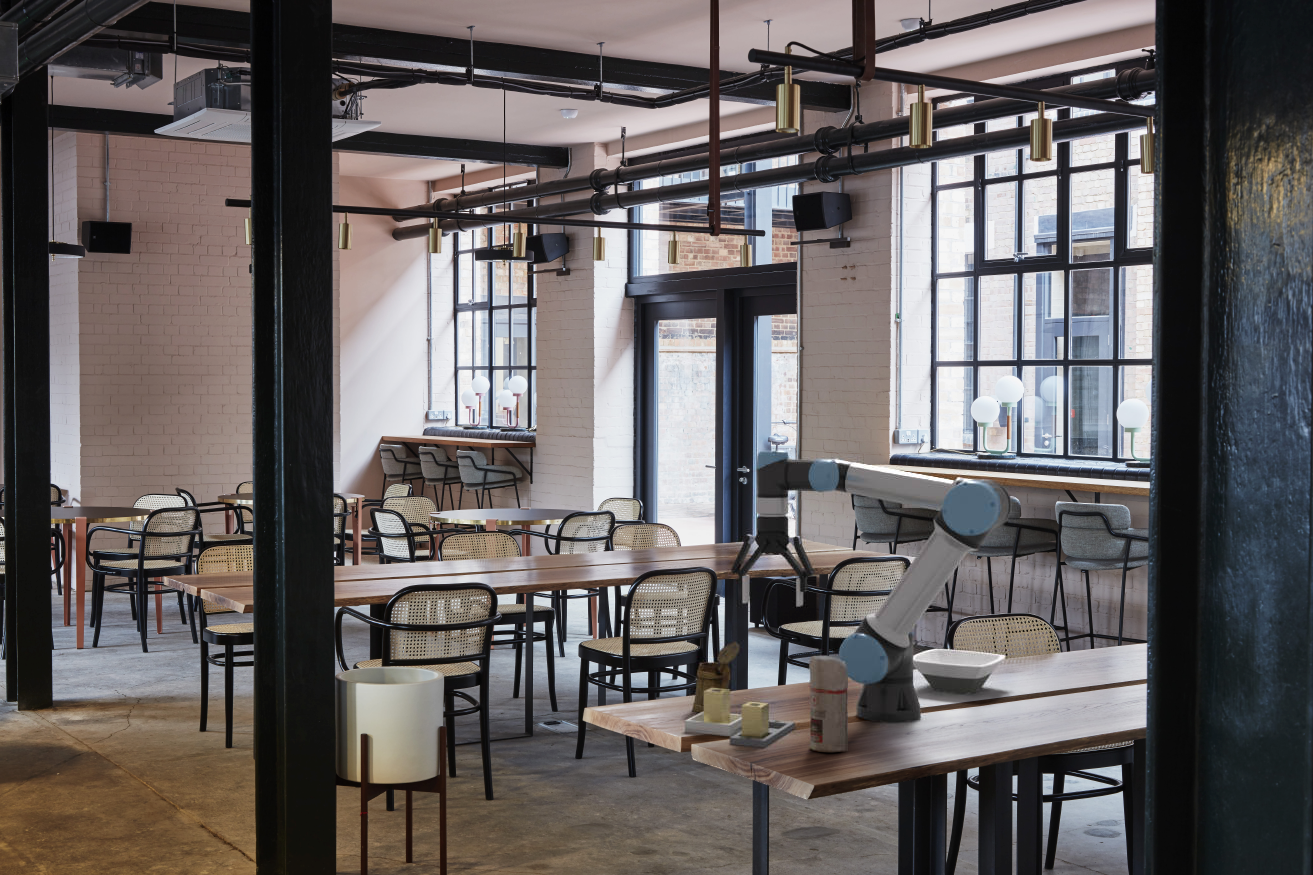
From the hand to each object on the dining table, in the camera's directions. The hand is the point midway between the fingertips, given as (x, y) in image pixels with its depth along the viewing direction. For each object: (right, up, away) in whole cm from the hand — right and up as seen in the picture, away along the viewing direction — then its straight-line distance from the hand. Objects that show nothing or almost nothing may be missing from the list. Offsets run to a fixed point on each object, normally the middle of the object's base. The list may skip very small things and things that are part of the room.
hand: (772, 604), depth 305 cm
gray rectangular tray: (-4, -27, -20) cm, 34 cm away
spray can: (+9, -27, -33) cm, 43 cm away
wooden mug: (-13, -27, +5) cm, 30 cm away
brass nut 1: (-14, -26, -13) cm, 32 cm away
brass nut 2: (-6, -27, -25) cm, 37 cm away
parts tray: (-14, -27, -13) cm, 33 cm away
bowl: (+52, -27, +33) cm, 67 cm away
